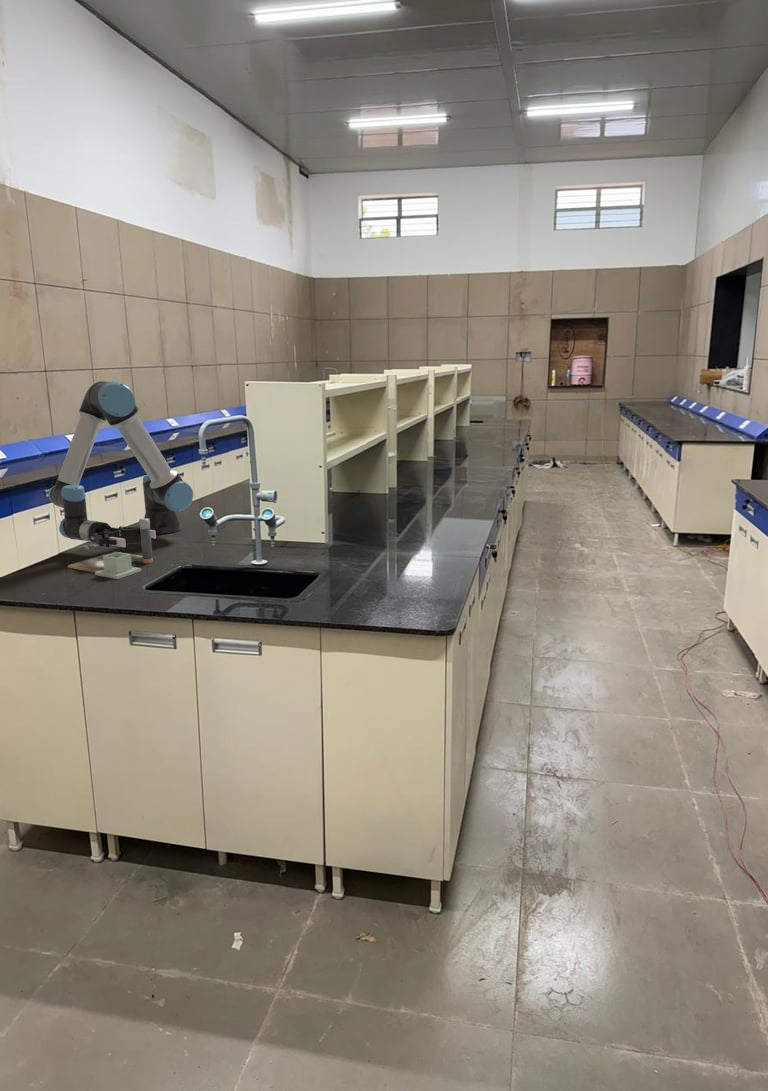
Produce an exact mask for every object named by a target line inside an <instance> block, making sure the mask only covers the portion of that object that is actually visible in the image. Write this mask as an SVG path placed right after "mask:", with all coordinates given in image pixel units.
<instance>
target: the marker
mask: <svg viewBox="0 0 768 1091" xmlns="http://www.w3.org/2000/svg"><path fill="white" fill-rule="evenodd" d="M138 522H139V527H140V534H141V536H140V542H141V544H140V546H141V553H142V555H141V556H143V559H142V563H143V564H146V565H147V564H153V562H154V561H153V560H154V559H153V547H152V538H151V534H150V521H149V519H148V518H144V517H143V518H139V520H138Z"/></svg>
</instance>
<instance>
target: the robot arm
mask: <svg viewBox="0 0 768 1091" xmlns="http://www.w3.org/2000/svg"><path fill="white" fill-rule="evenodd" d="M81 402H82V403H81V405H80V408H79V409H78V414H79V416H80V417H79V419H78V422H77V425H76V427H75V430H74V433H73V435H72V439H71V442H70V444H69V447H68V449H67V453H66V454H65V457H64V461H63V463H62V466H61V469H60V471H59V474H58V477H57V480H56V482H55V485H54V486H52V487H51V488H50V489H49V492H48V499H49V501H50V502H51V503H52V504H54V506H57V507H59V508H62V509H63V516H64V518H63V519H62V520H61V521H60V524H59V526H58V529H59V533H60V534H61V536H63V537H64V538H66V539H70V540H75V541H77V540H78V541H84V542H90V544H93V543H96V545H98V546H100V547H104V545H105V548H110V547H111V546H113V547H120V548H126V547H127V545H126V544H127V542H126V539H125V538H124V537H141V534H140V526H120V525H119V527H112V526H111V525H110V524H109V523H108V522H103V521H96V520H90V519H88V513H87V512H88V511H87V501H86V499H87V498H86V496H87V495H86V492H85V487H84V486H83V485H81V484H80V483H81V479H82V477H83V474H84V471H85V469H86V466H87V463H88V461H89V459H90V457H91V453H92V450H93V447H94V444H95V442H96V439H97V436H98V434H99V432H100V428H101V426H102V424H104V423H106V421H107V422H108V425H109V426H111V427H114V428H116V429H117V431H118V433H119V434H120V435H121V436H122V438H123V439H124V441H125V443H126V445H128V447H129V449H130V450H131V451H132V453H133V455H134V456H135V458H136V459H137V461H138V463H139V464H140V465H141V468H143V471H144V473H146V475H144V476H143V477H142V488H143V497H144V498H143V500H144V509H145V513H144V517H143V518H148V519H149V521H150V534H151V539H157V535H161V534H162V535H163V534H171V533H175V532H176V533H177V532H179V531H181V530H182V524H181V521H180V520H179V519H180V518H179V517H178V516H179V515H178V513H177V512H181V511H184V510H186V509H188V508H189V507H190V506H191V504H192V503H193V498H194V490H193V488H192V486H191V485H190V484H189V483H187V481H184V480H183V478H182V477H181V475H180V473H179V472H178V471H177V470H176V469H172V468H171V467H170V465H169V464H168V462H167V461H166V459H165V457H164V455H163V454H162V452H161V450H160V449H159V448H158V446H157V444H156V443H155V441H154V439H153V438H152V436H151V435H150V433H149V432H148V430H147V429H146V427H145V425H144V423H143V422H142V420H141V419H140V417H139V411H140V410H139V408H138V406H137V404H136V397H135V394H134V392H133V391H132V389H131V388H129V386H127V385H125V383H124V384H123V383H122V382H118V381H104V380H103V381H101V380H100V381H96V382H95V383H93V384H91V386H89V387H88V389H87V391H86V392H85V394H84V397H83V399H82V401H81Z"/></svg>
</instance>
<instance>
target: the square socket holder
mask: <svg viewBox="0 0 768 1091" xmlns="http://www.w3.org/2000/svg"><path fill="white" fill-rule="evenodd" d="M115 552H116V553H112V554H109V555H106V556H103V563H104V569H103V570H100V571H97V572H94V575H95V576H99V577H104V578H110V579H115V580H120V579H122V578H126V577H129V576H131V575H133V574H134V575H135V574H138V573H140V572H142V567H136V566H132V562H131V554H132V553H127V552H121V553H120V552H119V551H115ZM126 553H127V554H126Z"/></svg>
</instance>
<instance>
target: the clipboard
mask: <svg viewBox="0 0 768 1091" xmlns="http://www.w3.org/2000/svg"><path fill="white" fill-rule="evenodd" d="M116 552H117V551H112V552H109V553H104V554H102V555H98V556H95V557H91V558H89V559H88V558H87V559H84V560H80V561H78V562H74V563H71V564H67V568H69V569H74V570H80V571H85V572H89V573H90V572H91V573H95V572H97V571H100V570H103V569H104V563H103V556H106V555H109V554H112V553H116ZM120 553H122V552H120ZM125 553H126V554H128V553H127V552H125ZM130 554H131V563H134V562H136V561H140V560H143V556H142V555H138V554H132V553H130Z"/></svg>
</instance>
